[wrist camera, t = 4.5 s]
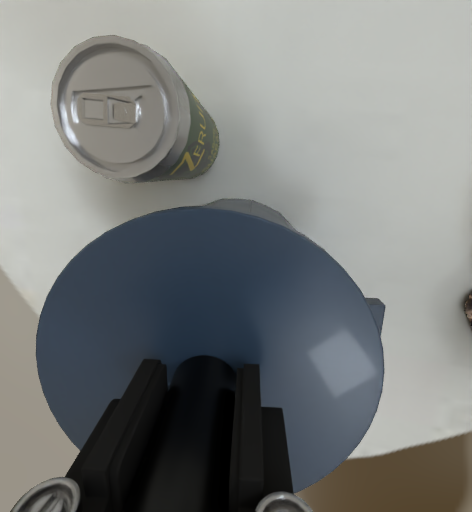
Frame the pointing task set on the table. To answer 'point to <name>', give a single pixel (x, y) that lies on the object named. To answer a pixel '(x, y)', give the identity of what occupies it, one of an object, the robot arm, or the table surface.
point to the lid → (211, 346)
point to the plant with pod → (469, 308)
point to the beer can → (130, 113)
